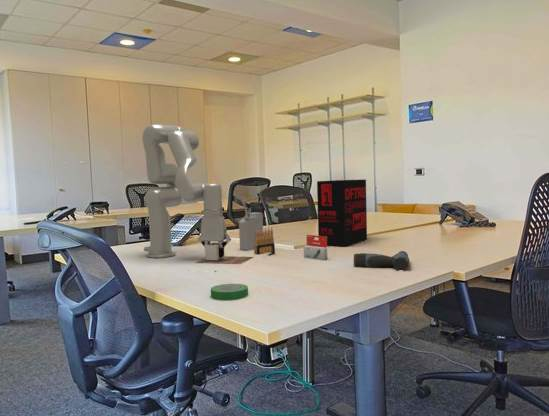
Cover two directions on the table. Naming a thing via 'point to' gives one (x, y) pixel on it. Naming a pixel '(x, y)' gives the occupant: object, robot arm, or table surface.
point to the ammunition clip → (264, 242)
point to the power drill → (382, 260)
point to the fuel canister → (249, 228)
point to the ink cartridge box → (316, 248)
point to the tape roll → (229, 291)
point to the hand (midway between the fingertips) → (215, 256)
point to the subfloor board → (227, 260)
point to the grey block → (212, 251)
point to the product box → (342, 211)
